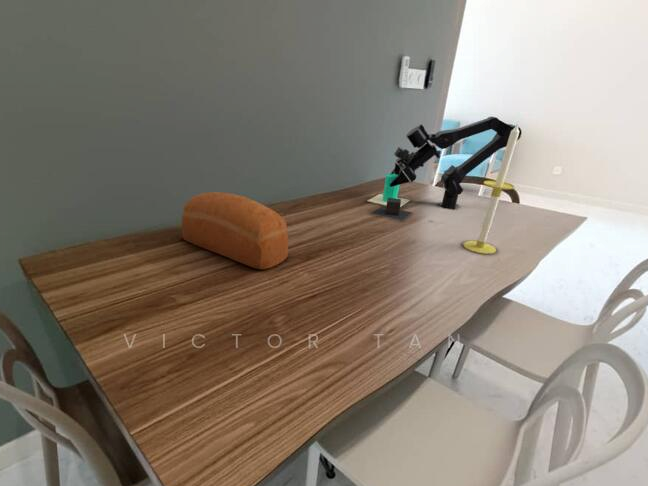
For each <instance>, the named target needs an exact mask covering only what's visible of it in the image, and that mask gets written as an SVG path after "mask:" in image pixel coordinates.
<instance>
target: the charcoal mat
mask: <svg viewBox="0 0 648 486" xmlns="http://www.w3.org/2000/svg"><path fill="white" fill-rule="evenodd" d="M385 211H386V205H382V206H381V207H379V208H378V209H376V210H374V211H373V212H371V214H372V215H377V216H381V217H384V218H390V219H393V220H397V221H403V220H404V219H405V218H407V217H408V216H409V215H411V214H413V213H412V212H411V211H407V210H404V209H400V210H399V215H398V216H397V215H389V214H385Z"/></svg>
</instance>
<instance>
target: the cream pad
mask: <svg viewBox="0 0 648 486" xmlns="http://www.w3.org/2000/svg"><path fill="white" fill-rule="evenodd" d="M382 199H383V193H379V194H376V195H375V196H373V197H371V198H370V199H367V202H370V203H375V204H378V205H382V206H386V204H387V202H385V201H383V200H382ZM397 199H401V205H400V208H401V207H402V206H403V207H404V205H406V204H407V203H408V202H410V201H411V199H407V198H401V197H397Z"/></svg>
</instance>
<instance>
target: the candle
mask: <svg viewBox="0 0 648 486" xmlns="http://www.w3.org/2000/svg"><path fill="white" fill-rule="evenodd" d="M394 172H395V171H394ZM397 176H398V175H397V174H391V173H386V174H385V179H384V180H385V181H384V187H383V193H382V194H383V199H382V200H383V201H385V202H387V198H396V199H397V198H398V195H399V190H400V185H396V186H393V187H390V183H391V182H392V181H393V180H394V179H395V178H396V177H397Z"/></svg>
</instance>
